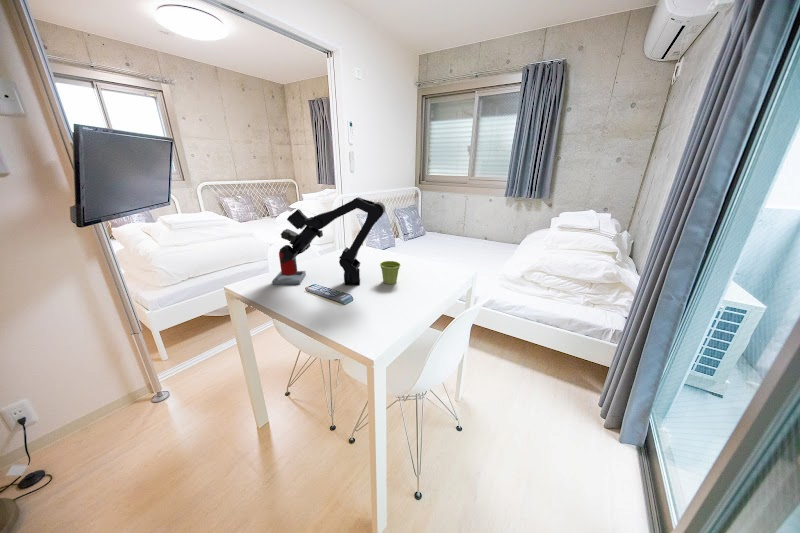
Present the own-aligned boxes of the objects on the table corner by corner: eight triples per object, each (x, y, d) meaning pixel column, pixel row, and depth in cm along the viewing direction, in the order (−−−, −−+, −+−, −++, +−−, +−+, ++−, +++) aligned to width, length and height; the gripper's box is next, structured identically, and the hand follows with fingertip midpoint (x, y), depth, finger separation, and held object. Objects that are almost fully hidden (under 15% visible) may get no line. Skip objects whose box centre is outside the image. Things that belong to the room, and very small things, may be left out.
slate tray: (305, 274, 132) (305, 270, 131) (299, 284, 121) (299, 280, 120) (281, 275, 131) (280, 271, 130) (272, 285, 120) (272, 280, 119)
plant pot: (399, 278, 130) (400, 260, 127) (400, 286, 121) (400, 267, 118) (380, 278, 130) (380, 260, 127) (379, 286, 121) (379, 267, 118)
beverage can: (300, 273, 125) (297, 248, 122) (287, 277, 120) (283, 251, 116) (291, 270, 129) (288, 245, 125) (278, 274, 124) (275, 249, 120)
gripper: (300, 219, 125) (281, 242, 130) (281, 227, 108) (259, 253, 112) (319, 236, 128) (299, 258, 132) (302, 247, 110) (280, 272, 114)
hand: (285, 260), depth 123 cm, fingers closed on beverage can, 7 cm apart
